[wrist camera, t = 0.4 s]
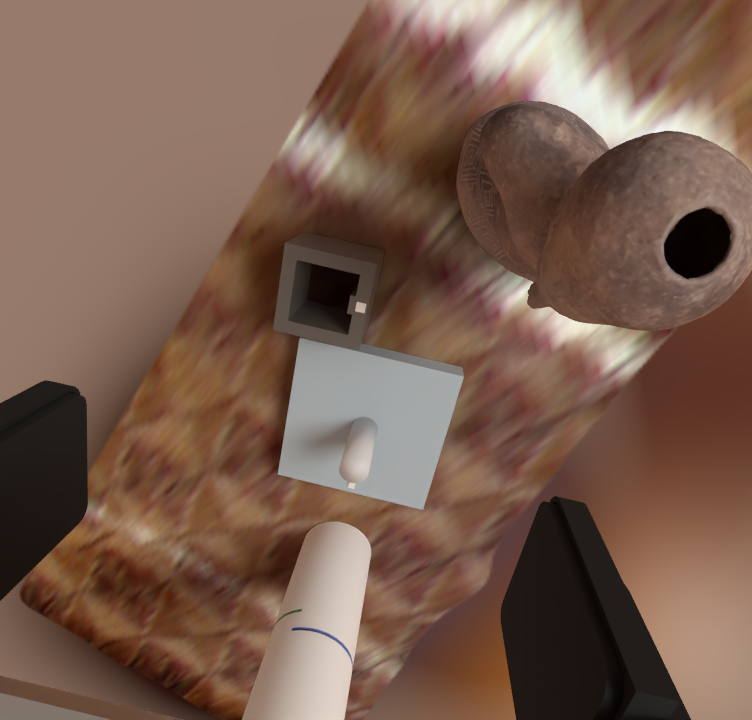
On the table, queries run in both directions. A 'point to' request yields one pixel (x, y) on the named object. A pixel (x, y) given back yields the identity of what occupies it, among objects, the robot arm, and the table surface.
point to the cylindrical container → (315, 630)
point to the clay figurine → (607, 216)
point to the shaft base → (378, 397)
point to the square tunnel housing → (317, 317)
